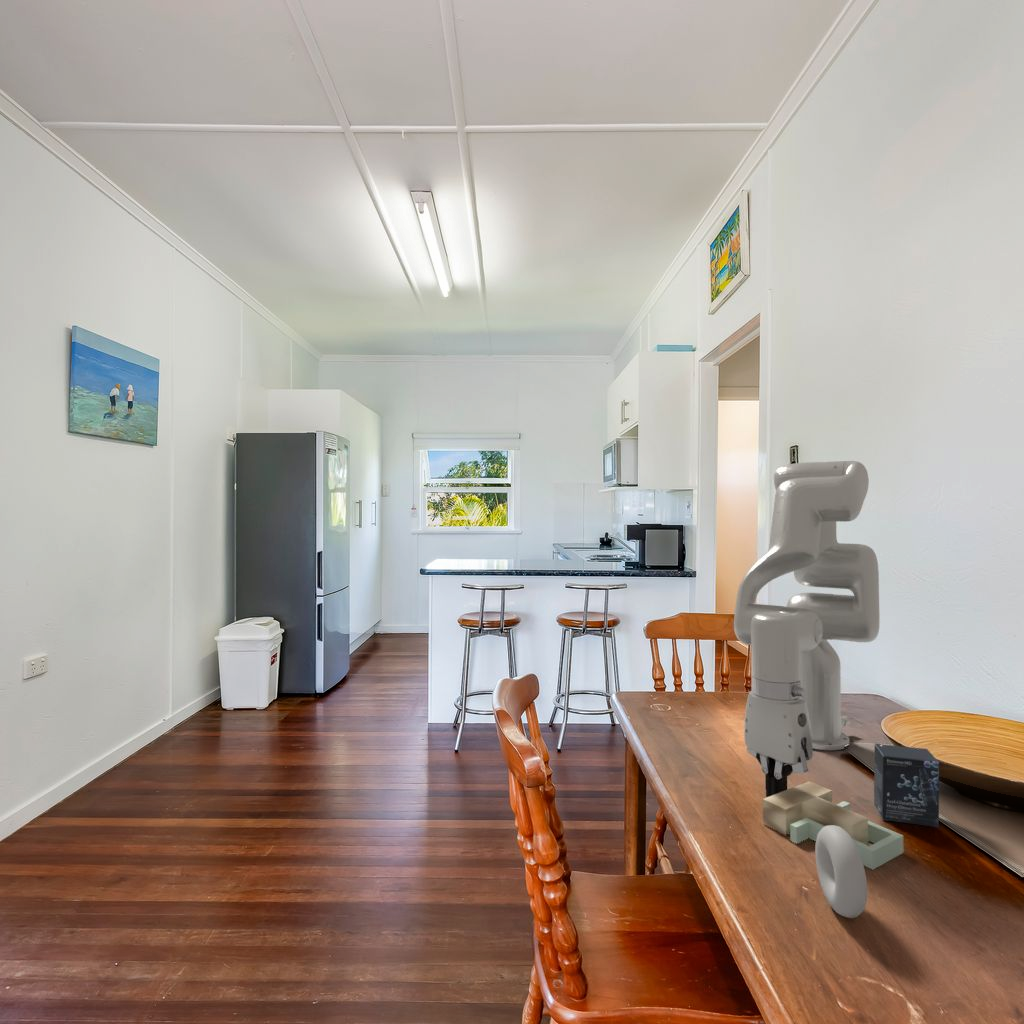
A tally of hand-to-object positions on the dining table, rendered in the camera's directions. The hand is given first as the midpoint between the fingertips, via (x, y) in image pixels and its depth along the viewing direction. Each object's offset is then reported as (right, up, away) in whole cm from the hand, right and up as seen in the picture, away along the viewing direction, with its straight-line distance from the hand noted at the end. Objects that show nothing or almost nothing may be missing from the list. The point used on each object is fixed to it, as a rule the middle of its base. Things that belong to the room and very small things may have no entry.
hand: (776, 798), depth 101 cm
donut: (-3, -2, -25) cm, 26 cm away
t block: (+4, -2, -7) cm, 8 cm away
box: (+20, -2, -3) cm, 20 cm away
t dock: (+7, -2, -11) cm, 13 cm away
